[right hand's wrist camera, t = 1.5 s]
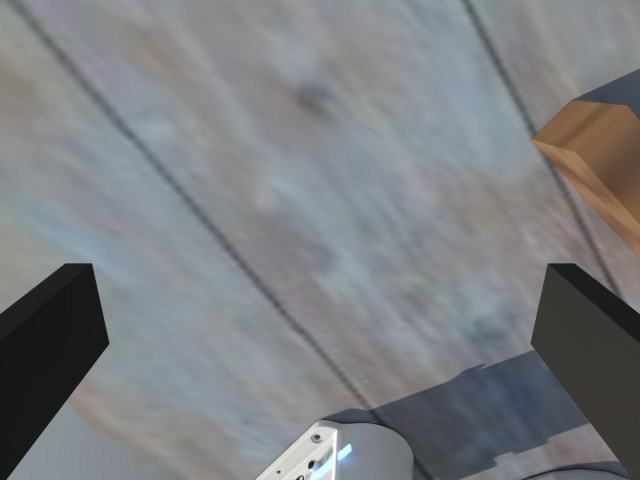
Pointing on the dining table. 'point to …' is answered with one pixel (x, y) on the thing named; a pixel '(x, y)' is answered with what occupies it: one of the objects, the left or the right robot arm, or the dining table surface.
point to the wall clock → (579, 475)
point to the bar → (599, 160)
